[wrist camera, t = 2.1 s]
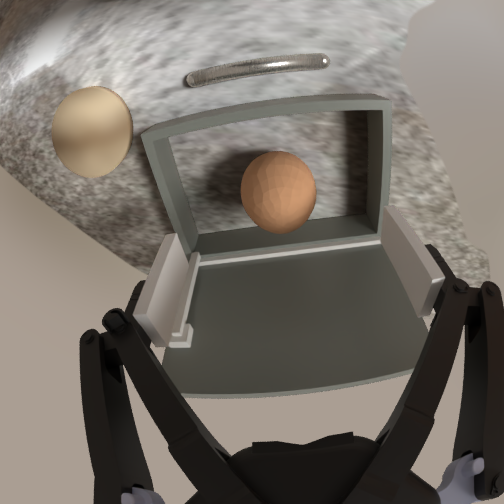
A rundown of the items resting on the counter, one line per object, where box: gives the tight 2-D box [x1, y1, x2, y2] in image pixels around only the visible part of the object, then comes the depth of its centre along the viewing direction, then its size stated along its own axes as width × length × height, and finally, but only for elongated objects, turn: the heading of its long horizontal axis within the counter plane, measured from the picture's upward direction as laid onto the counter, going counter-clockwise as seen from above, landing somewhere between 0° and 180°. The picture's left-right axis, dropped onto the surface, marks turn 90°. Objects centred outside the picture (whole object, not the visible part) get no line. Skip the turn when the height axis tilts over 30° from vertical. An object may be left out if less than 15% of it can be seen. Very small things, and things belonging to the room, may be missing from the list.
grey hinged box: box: [141, 94, 429, 399], centre depth 18 cm, size 14×19×17 cm
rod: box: [187, 53, 330, 87], centre depth 18 cm, size 1×11×1 cm, turn 100°
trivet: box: [52, 86, 133, 178], centre depth 20 cm, size 9×9×1 cm
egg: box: [241, 151, 316, 234], centre depth 21 cm, size 6×6×8 cm
